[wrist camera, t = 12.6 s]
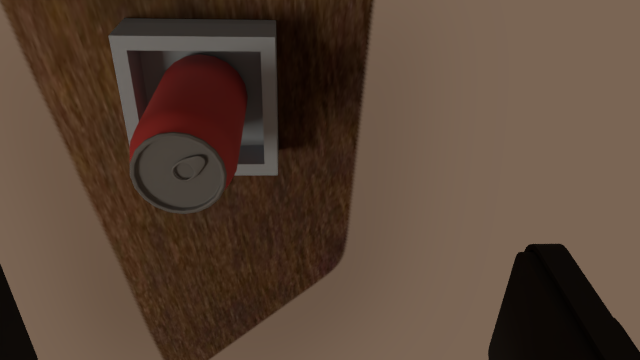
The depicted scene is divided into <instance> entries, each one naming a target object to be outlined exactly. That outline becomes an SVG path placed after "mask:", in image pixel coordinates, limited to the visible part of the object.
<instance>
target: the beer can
mask: <svg viewBox="0 0 640 360" xmlns="http://www.w3.org/2000/svg"><path fill="white" fill-rule="evenodd" d="M247 99H248V95H247V91H246V86H245V83H244V81H243V80H242V78H241V76H240V75H239V73H238V72H237V71H236V70H235V69H234V68H233V67H232V66H230V65H229V64H228V63H227V62H225V61H223V60H221V59H218V58H216V57H214V56H208V55H201V54H199V55H192V56H186V57H184V58H182V59H180V60H178V61H176V62H174V63H173V64H172V65H171V66H170V67H169V68H168V69H167V70H166V72H165V73H164V75H163V77H162V79H161V81H160V83H159V85H158V87H157V89H156V90H155V92H154V94H153V96H152V98H151V100H150V102H149V104H148V106H147V108H146V110H145V112H144V113H143V115H142V117H141V119H140V121H139V123H138V125H137V127H136V129H135V131H134V134H133V136H132V139H131V141H130V177H131V180H132V182H133V185H134V187H135V189H136V190H137V191H138V193H139V194H140V195H141V196H142V197H143V199H145V200H146V201H148V202H149V203H151V204H152V205H153V206H155V207H157V208H160V209H162V210H165V211H168V212H173V213H181V214H186V213H194V212H199V211H201V210H203V209H206V208H208V207H210V206H211V205H213V204H214V203H215V202H216V201H217V200H218V199H219V198H220V197H221V195H222V193H223V191H224V190H225V189H226V188H227V187H228V185H229V184H230V182H231V180H232V178H233V176H234V175H235V173H236V171H237V165H238V159H239V152H240V146H241V140H242V133H243V127H244V120H245V114H246V107H247Z"/></svg>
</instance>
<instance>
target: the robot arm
mask: <svg viewBox="0 0 640 360" xmlns="http://www.w3.org/2000/svg"><path fill="white" fill-rule="evenodd" d="M488 356H489V360H640V352H639V350H638V349H637V348H636V346H635V345H634V343H633V342H632V340H631V339H630V337H629V336H628V334H627V333H626V331H625V330H624V328H623V327H622V326H621V325H620V323H619V322H618V321H617V320H616V319H615V318H613V317H612V315H611V313H610V312H609V311H608V309H607V308H606V306H605V305H604V303H603V302H602V300H601V299H600V297H599V296H598V294H597V293H596V291H595V290H594V288H593V287H592V285H591V284H590V282H589V281H588V280H587V278H586V277H585V275H584V274H583V272H582V271H581V269H580V268H579V266H578V265H577V263H576V262H575V260H574V259H573V257H572V256H571V254H570V253H569V251H568V250H567V249H566V248H565V247H564V246H563V245H561V244H530V245H528V246H527V247H526V249H525V251H524V252H519V253H518V254H517V256H516V258H515V261H514V264H513V268H512V271H511V275H510V278H509V281H508V285H507V288H506V292H505V295H504V298H503V302H502V305H501V308H500V312H499V315H498V318H497V322H496V325H495V329H494V332H493V335H492V339H491V342H490V346H489V351H488ZM0 360H38V358H37V355H36V353H35V351H34V348H33V345H32V343H31V340H30V338H29V335H28V333H27V330H26V328H25V325H24V323H23V320H22V317H21V315H20V312H19V310H18V307H17V305H16V302H15V300H14V298H13V295H12V292H11V290H10V287H9V285H8V282H7V280H6V277H5V275H4V272H3V270H2V267H1V265H0Z"/></svg>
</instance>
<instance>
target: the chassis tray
mask: <svg viewBox="0 0 640 360" xmlns="http://www.w3.org/2000/svg"><path fill="white" fill-rule="evenodd" d="M109 41H110V46H111V51H112V56H113V62H114V67H115V72H116V77H117V82H118V88H119V93H120V98H121V103H122V109H123V114H124V119H125V124H126V130H127V135H128V140H129V145H130V141H131V139H132V136H133V134H134V131H135V129H136V127H137V125H138V123H139V121H140V119H141V117H142V115H143V113H144V112H145V110H146V108H147V106H148V104H149V102H150V100H151V98H152V96H153V94H154V92H155V90H156V89H157V87H158V85H159V83H160V81H161V79H162V77H163V75H164V73H165V72H166V70H167V69H168V68H169V67H170V66H171V65H172V64H173V63H174V62H176V61H178V60H180V59H182V58H184V57H186V56H192V55H199V54H201V55H208V56H214V57H216V58H218V59H221V60H223V61H225V62H227V63H228V64H229V65H230V66H232V67H233V68H234V69H235V70H236V71H237V72H238V73H239V75H240V76H241V78H242V80H243V81H244V83H245V86H246V91H247V95H248V99H247V107H246V114H245V120H244V127H243V133H242V140H241V146H240V152H239V159H238V165H237V171H236V173H235V175H278V96H277V41H276V20H224V19H141V18H124V19H123V20H122V21H121V22H120V23H119V25H118V26H117V27H116V28H115V29H114V30H113V31H112V32H111V33H110V35H109Z"/></svg>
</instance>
